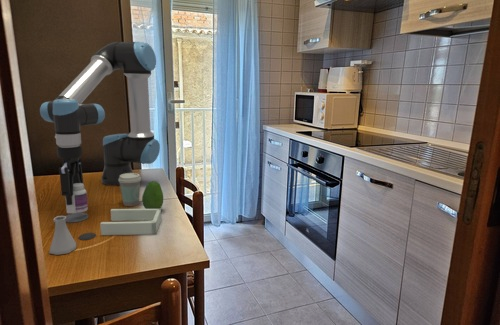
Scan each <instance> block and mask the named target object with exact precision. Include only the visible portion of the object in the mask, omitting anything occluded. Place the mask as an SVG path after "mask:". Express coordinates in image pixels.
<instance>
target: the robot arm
mask: <svg viewBox="0 0 500 325" xmlns="http://www.w3.org/2000/svg"><path fill="white" fill-rule="evenodd" d="M156 66H157V57H156V54H155V50H154V49H153V48H152V46H151V45H150V44H149V43H147V42H143V41H115V42H110V43H108V44H106V45H105V46H103V47H101V48H100V49H99V50H97V51H96V52H95V53H94V54H93V55H92V56H91V58H90V62H89V63H88V65H86V67H84V68H83V70H82V71H81V72H80V73H79V74H78V75H77V76H76V77H75V78H74V79H73V80H72V81H71V82H70V84H69V85H67V87H66V88H65V89H64V90H63V91H62V92H61V93H60V94H59V95H58V96H57V97H56V98H55V99H54V100H52V101H51V100H49V101H45V102H43V103H42V104H41V106H40V107H39V115H40V116H41V118H42V119H43V120H44V121H45V122H49V123H53V124H54V125H53V126H54V132H55V133H54V134H55V135H54V138H55V143H56V145H57V147H56V154H57V155H56V156H57V158H59V159H61V160H62V167H58V172H59V179H60V180H59V181H60V190H61V192H60V193H61V197H65V198H64V199H65V207H66V213H67V214H73V213H76V207H75V196H74V195H73V184H75V183H83V184H84V178H83V176H84V175H83V166H82V161H83V160H82V158H81V157H82V156H83V149H82V148H83V147H82V133H81V127H83V126H84V127H85V126H91V125H93V126H94V125H98V124H101V123H102V122H104V120H105V116H106V112H105V110H104V108H103V106H102V105H101V104H98V103H91V102H90V103H83V102H84V101H85V100H86V99H87V98H88V96H90V94H92V92H93V91H94V90H95V89H96V87H98V85H99V84H100V83H101V82H102V80H103V79H104V78H105V77H106V76H109V75H111V74H112V73H113V72H114V71H117V70H123V75H124V76H126V78H127V87H128V88H127V89H128V103H129V105H128V106H129V116H130V117H129V120H130V132H129V133H116V134H109V135H105V136H104V137H103V138H102V151H103V152H102V153H103V161H104V162H103V163H104V164H103V165H104V168H103V171H102V175H101V177H100V178H101V184H103V185H106V186H120V182H119V181H118V180H119V177H120V175H121V174H125V173H134V171H133V169H132V166H131V163H137V164H143V165H144V164H149V165H150V164H153V163H154V162H156V160H158V157H159V154H160V151H161V144H160V141H158V140H157V139H156V138H155V134H154V133H153V132H152V131H151V114H150V113H151V112H150V98H149V97H150V92H149V90H150V89H149V78H150V77H151V76H152V71H153V70H154V69H155V68H156Z"/></svg>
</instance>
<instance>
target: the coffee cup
mask: <svg viewBox="0 0 500 325" xmlns="http://www.w3.org/2000/svg"><path fill="white" fill-rule="evenodd" d="M140 175H141V174H139V173H137V172H133V173H125V174H121V175H120V177H119V180H118V181H119V182H120V185H119V188H120V191H121V192H120V194H121V198H122V202H123V203H122V204H123V206H125V207H133V206H134V207H135V206H137V205H139V202H140V192H141V191H140V188H141V180H142V177H141V176H140Z"/></svg>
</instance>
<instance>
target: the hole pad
mask: <svg viewBox="0 0 500 325" xmlns="http://www.w3.org/2000/svg"><path fill="white" fill-rule="evenodd" d="M95 237H97V235H96V233H94V232H86V233H82V234H81V235H79V236H78V240H80V241H89V240H92V239H94V238H95Z"/></svg>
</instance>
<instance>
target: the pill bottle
mask: <svg viewBox="0 0 500 325" xmlns="http://www.w3.org/2000/svg"><path fill="white" fill-rule="evenodd" d="M73 195H74V196H75V207H76V213H85V212H86V211H87V210H89V209H88V208H89V206H88V204H89V203H88V193H87V190H86V189H85V185H84V182H83V183H75V184H73Z"/></svg>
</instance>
